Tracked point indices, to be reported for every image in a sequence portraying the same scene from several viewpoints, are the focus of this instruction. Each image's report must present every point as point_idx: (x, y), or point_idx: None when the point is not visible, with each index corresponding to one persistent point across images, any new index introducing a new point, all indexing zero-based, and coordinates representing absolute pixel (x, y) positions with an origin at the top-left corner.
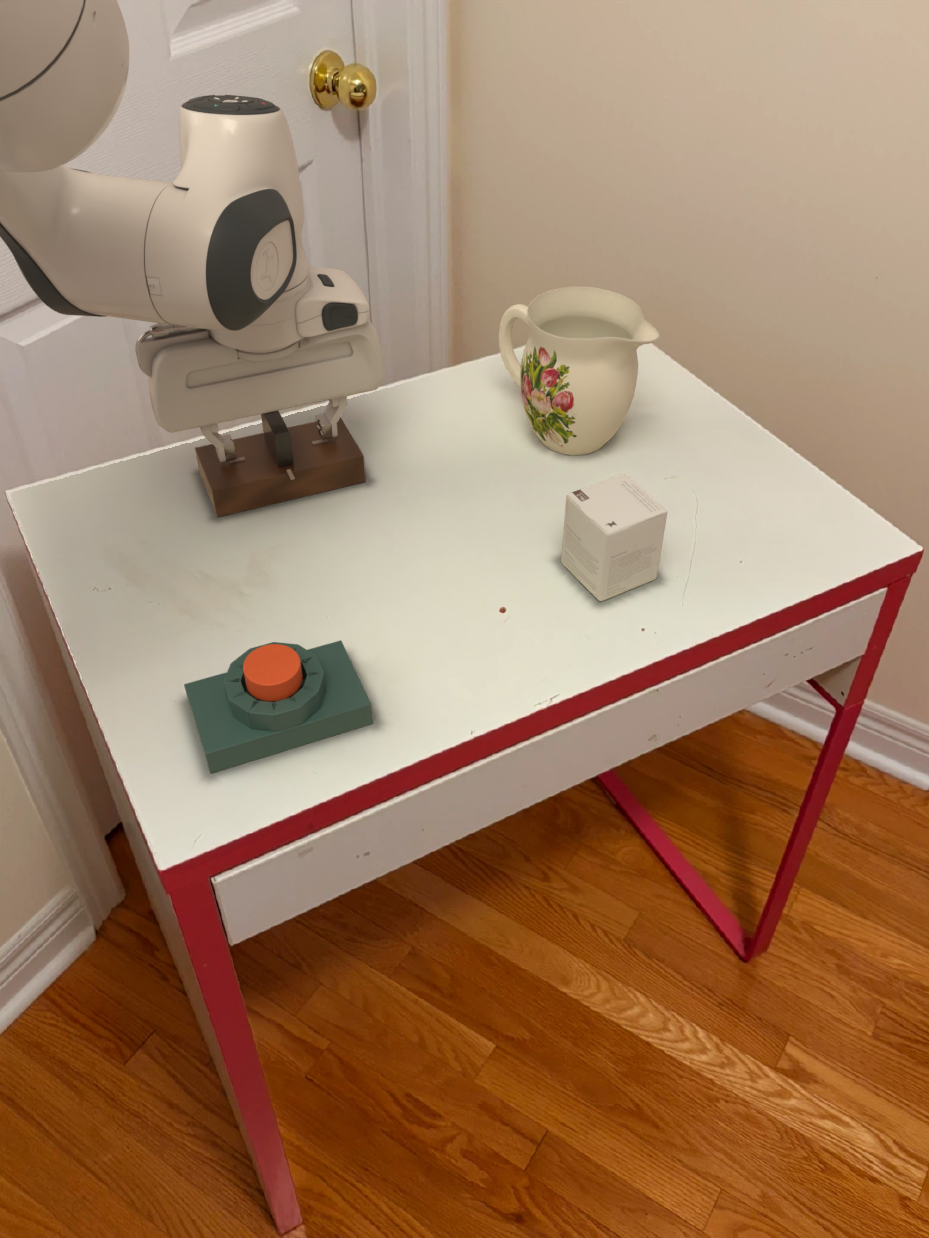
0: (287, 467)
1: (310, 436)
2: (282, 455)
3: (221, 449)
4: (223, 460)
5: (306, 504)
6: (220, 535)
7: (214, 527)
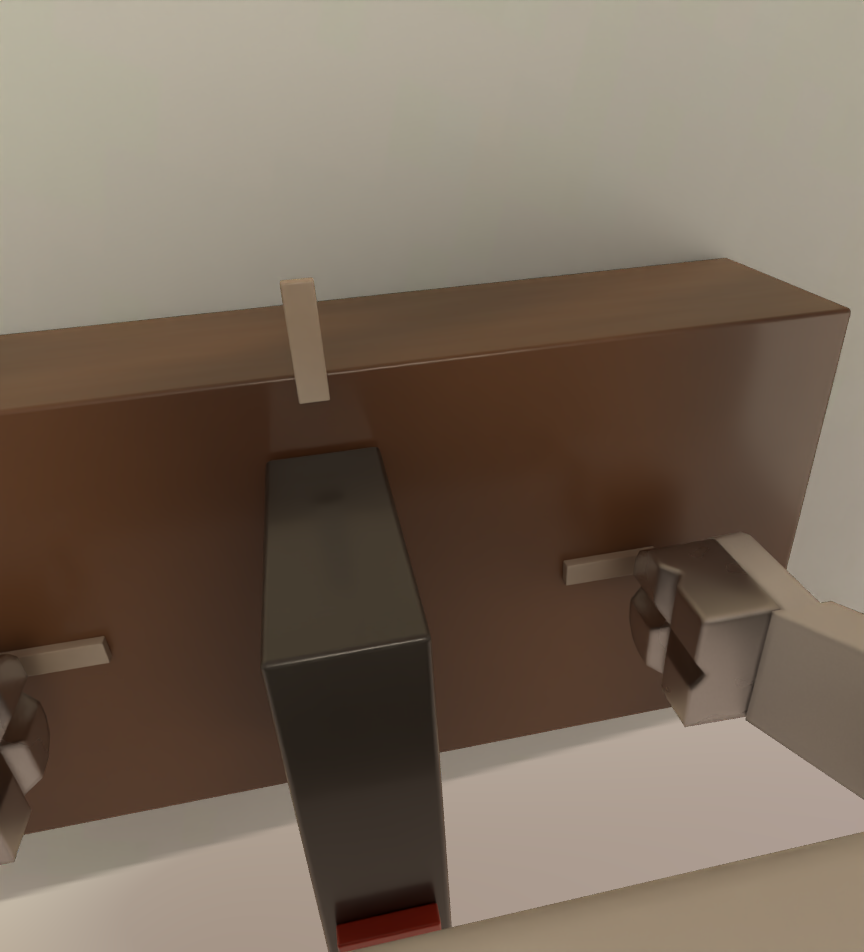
0: (315, 439)
1: (120, 712)
2: (348, 500)
3: (791, 592)
4: (733, 538)
5: (224, 232)
6: (771, 81)
7: (769, 173)
